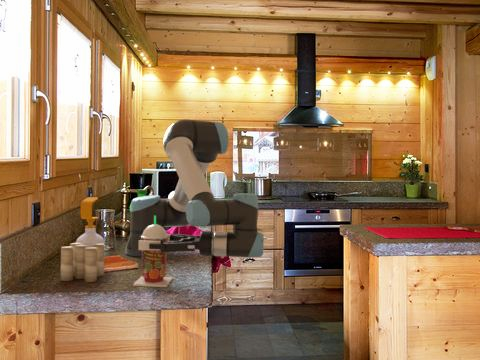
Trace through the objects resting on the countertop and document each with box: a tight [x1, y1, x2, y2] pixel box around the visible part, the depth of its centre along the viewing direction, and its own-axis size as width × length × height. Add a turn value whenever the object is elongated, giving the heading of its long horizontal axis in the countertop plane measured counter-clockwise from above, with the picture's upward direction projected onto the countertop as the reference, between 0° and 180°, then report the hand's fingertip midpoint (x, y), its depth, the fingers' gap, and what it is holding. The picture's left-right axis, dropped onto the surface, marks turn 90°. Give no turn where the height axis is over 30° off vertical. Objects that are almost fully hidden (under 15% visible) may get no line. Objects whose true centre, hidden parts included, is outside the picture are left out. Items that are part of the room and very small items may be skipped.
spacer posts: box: [60, 242, 106, 283], centre depth 149 cm, size 11×11×10 cm
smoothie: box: [141, 216, 168, 282], centre depth 145 cm, size 8×8×20 cm
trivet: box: [133, 275, 174, 288], centre depth 145 cm, size 10×10×1 cm
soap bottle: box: [75, 196, 105, 248], centre depth 160 cm, size 9×9×25 cm
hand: (144, 241), depth 145 cm, fingers open, 13 cm apart
